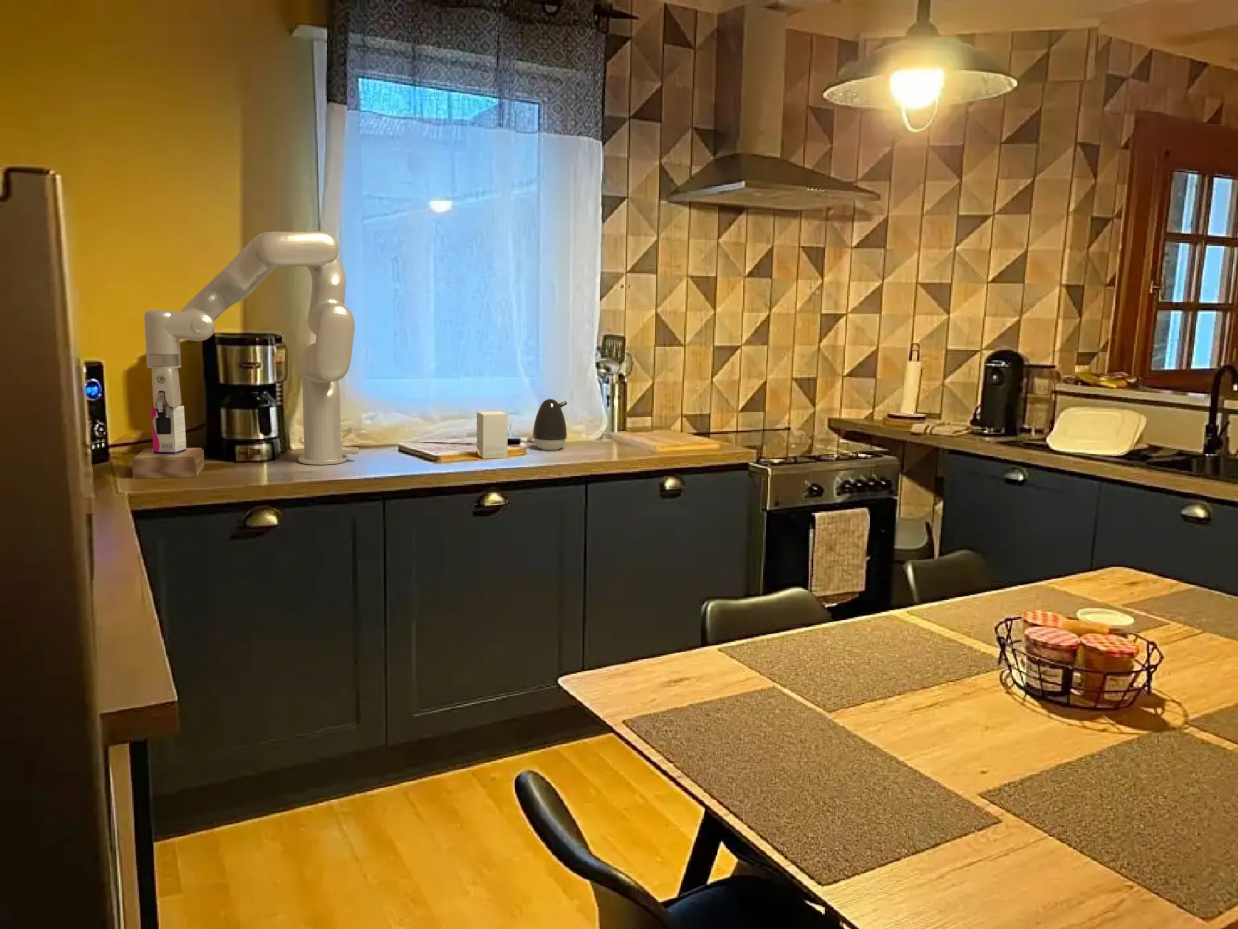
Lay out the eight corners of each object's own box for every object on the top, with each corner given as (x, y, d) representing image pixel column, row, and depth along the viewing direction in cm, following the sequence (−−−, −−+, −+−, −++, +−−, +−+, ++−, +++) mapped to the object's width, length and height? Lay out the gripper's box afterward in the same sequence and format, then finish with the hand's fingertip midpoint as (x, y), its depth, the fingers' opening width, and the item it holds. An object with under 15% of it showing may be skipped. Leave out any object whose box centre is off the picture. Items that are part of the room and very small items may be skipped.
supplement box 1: (187, 450, 242) (184, 405, 240) (175, 454, 236) (173, 407, 234) (164, 449, 242) (161, 404, 240) (152, 453, 236) (149, 407, 234)
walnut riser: (204, 466, 248) (203, 447, 247) (196, 477, 235) (195, 456, 234) (144, 467, 244) (143, 448, 243) (132, 478, 231) (131, 457, 230)
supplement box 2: (508, 458, 273) (508, 413, 271) (482, 459, 271) (482, 414, 269) (501, 454, 280) (501, 410, 278) (476, 454, 277) (476, 411, 275)
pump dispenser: (572, 451, 289) (573, 400, 286) (539, 452, 284) (540, 401, 282) (559, 445, 298) (560, 396, 295) (527, 447, 293) (528, 397, 291)
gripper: (174, 364, 228) (178, 436, 231) (186, 359, 244) (189, 426, 247) (139, 364, 226) (143, 436, 229) (153, 358, 242) (157, 426, 245)
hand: (167, 431), depth 238 cm, fingers open, 9 cm apart
